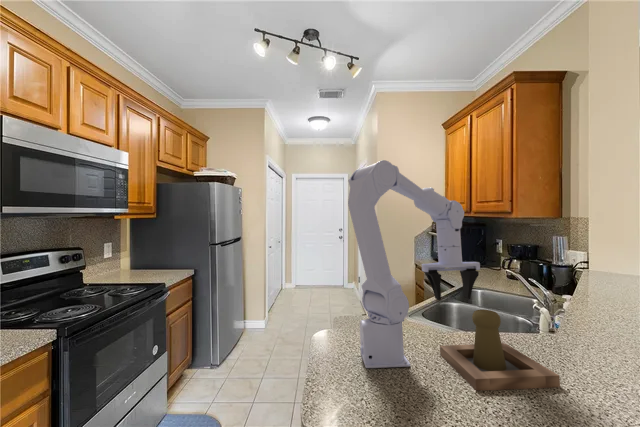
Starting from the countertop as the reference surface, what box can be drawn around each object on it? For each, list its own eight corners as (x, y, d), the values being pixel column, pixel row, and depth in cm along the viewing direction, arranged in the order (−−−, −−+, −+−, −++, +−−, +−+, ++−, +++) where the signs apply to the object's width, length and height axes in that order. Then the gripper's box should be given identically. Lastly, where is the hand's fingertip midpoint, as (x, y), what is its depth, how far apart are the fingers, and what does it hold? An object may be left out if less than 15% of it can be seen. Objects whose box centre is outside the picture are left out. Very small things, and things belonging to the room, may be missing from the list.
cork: (512, 372, 57) (508, 314, 57) (479, 371, 57) (475, 314, 58) (498, 358, 63) (494, 307, 63) (468, 357, 63) (465, 307, 64)
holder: (476, 390, 51) (475, 379, 51) (440, 354, 66) (439, 345, 66) (560, 387, 51) (559, 375, 51) (505, 352, 66) (504, 343, 66)
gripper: (468, 244, 80) (472, 294, 79) (416, 246, 80) (419, 296, 79) (483, 245, 73) (487, 300, 72) (426, 248, 73) (429, 302, 72)
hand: (452, 298), depth 75 cm, fingers open, 7 cm apart
